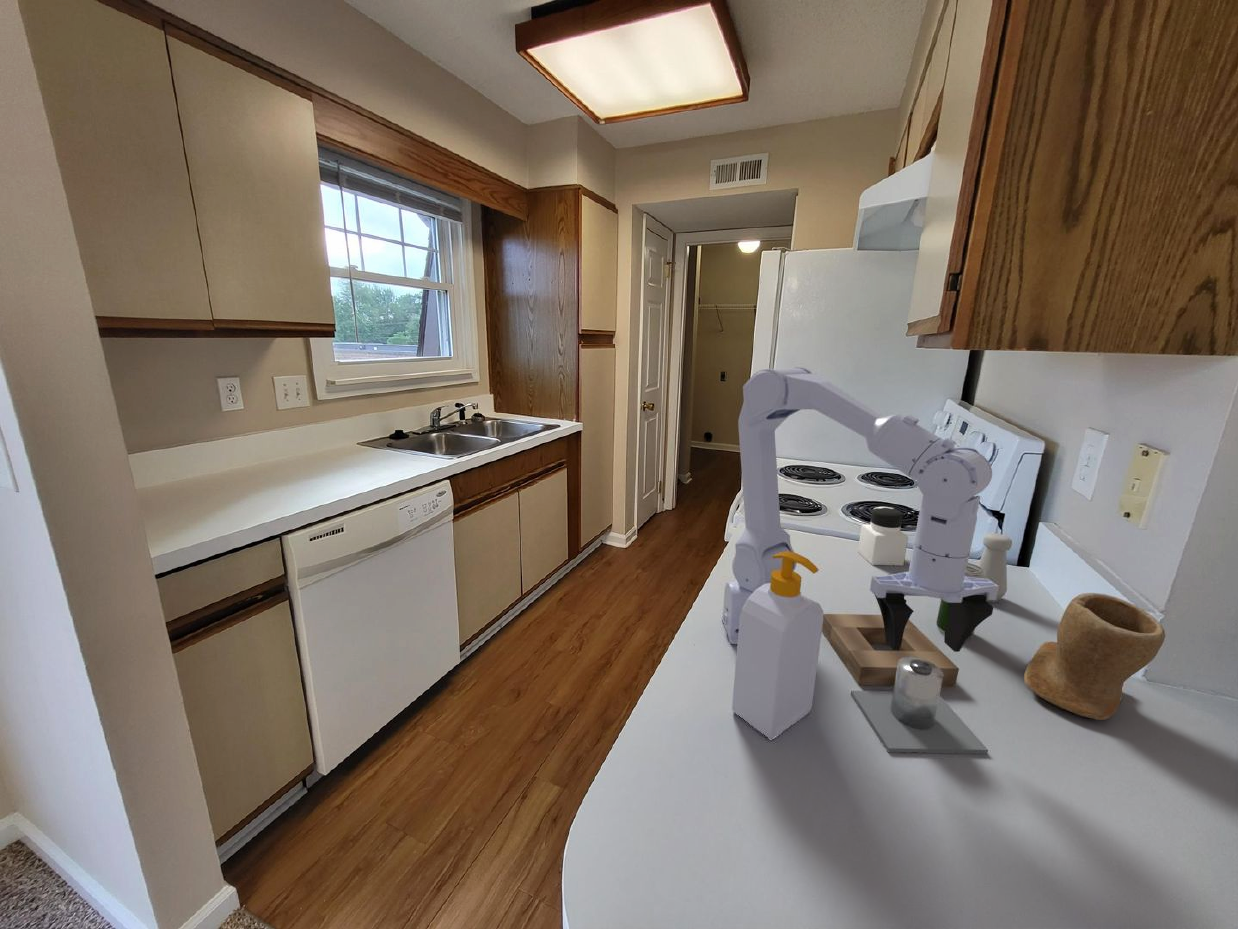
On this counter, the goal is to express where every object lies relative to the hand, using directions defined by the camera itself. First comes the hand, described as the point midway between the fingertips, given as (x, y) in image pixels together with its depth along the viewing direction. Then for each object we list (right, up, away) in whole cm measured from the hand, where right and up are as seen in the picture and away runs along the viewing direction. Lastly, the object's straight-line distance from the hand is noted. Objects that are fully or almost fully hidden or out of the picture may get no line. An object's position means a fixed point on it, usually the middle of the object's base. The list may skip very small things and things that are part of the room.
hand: (921, 646), depth 63 cm
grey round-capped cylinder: (0, -10, +2) cm, 10 cm away
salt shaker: (+33, -3, +33) cm, 47 cm away
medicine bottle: (+21, +1, +50) cm, 54 cm away
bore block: (+3, -7, +15) cm, 17 cm away
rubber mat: (0, -10, +1) cm, 10 cm away
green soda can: (+19, -6, +22) cm, 29 cm away
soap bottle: (-18, -10, +2) cm, 21 cm away
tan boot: (+27, -10, +7) cm, 29 cm away
